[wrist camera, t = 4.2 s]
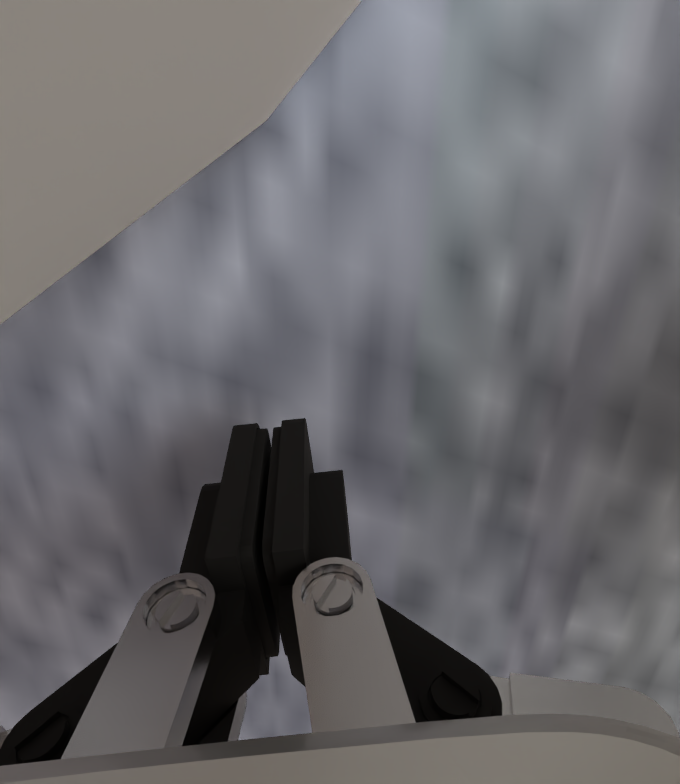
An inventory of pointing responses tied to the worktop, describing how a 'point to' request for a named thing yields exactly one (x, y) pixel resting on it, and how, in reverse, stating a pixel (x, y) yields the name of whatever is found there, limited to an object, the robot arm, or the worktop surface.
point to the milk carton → (129, 112)
